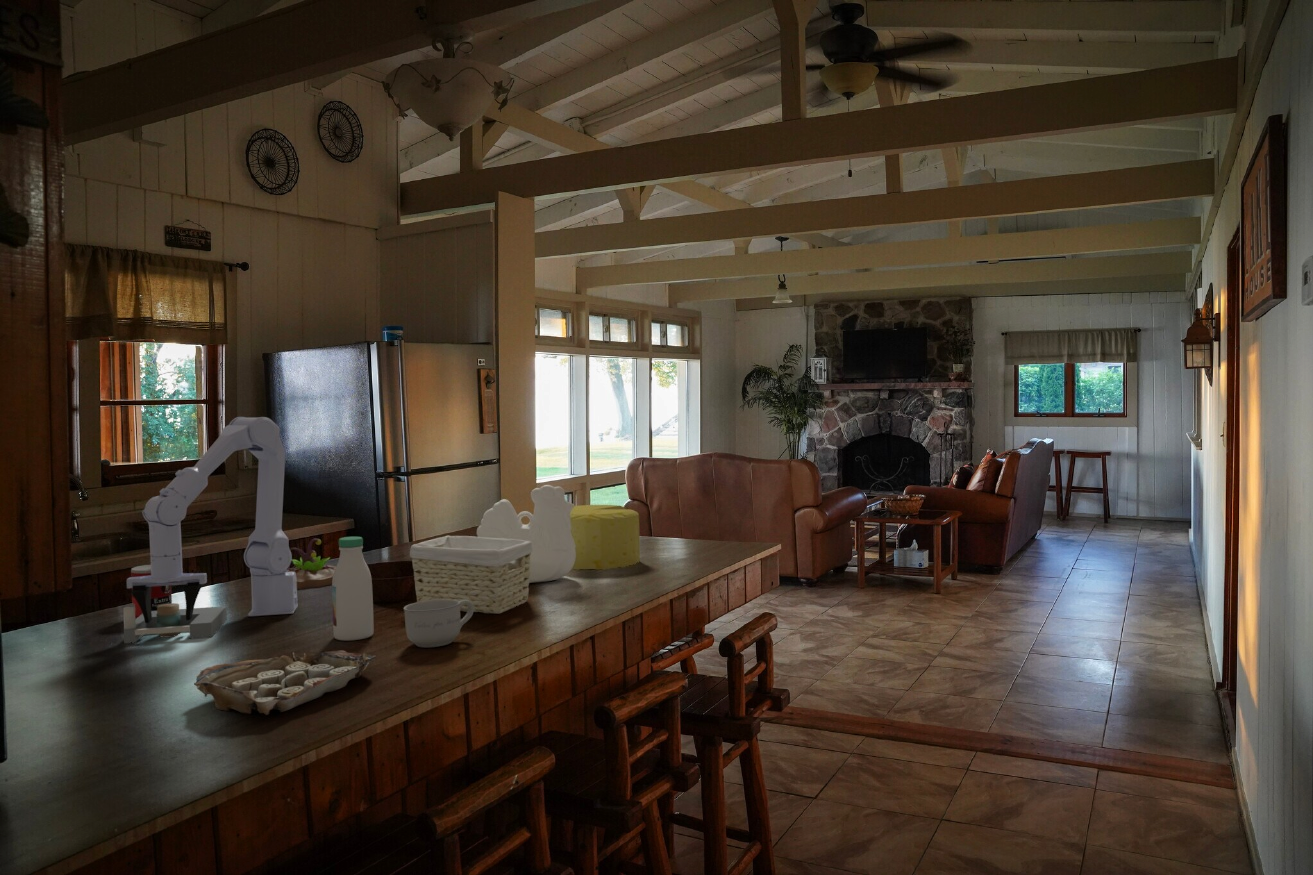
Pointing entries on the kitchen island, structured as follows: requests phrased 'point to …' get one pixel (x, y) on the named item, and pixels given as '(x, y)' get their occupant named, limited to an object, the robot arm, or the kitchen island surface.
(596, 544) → the cheese
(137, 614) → the canned food
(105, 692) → the kitchen island surface
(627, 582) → the kitchen island surface
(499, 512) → the decorative rooster
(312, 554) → the plant
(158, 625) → the bobbin
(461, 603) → the teacup
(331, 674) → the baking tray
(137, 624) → the grey u-shaped frame
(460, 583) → the storage basket
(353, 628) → the milk bottle
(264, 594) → the robot arm
